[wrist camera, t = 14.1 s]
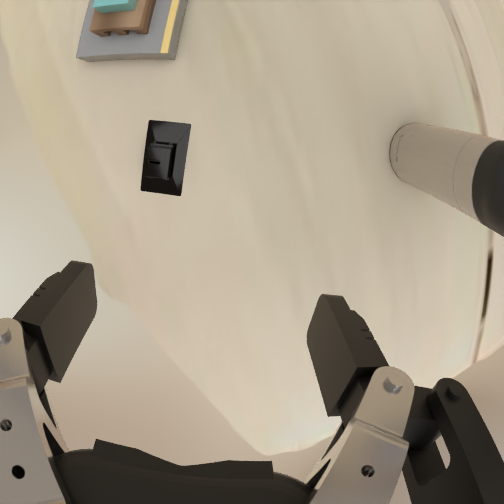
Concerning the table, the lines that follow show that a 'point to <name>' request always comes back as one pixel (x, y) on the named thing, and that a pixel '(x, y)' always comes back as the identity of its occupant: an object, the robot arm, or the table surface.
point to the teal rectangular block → (114, 5)
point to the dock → (136, 36)
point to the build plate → (165, 157)
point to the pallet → (124, 20)
